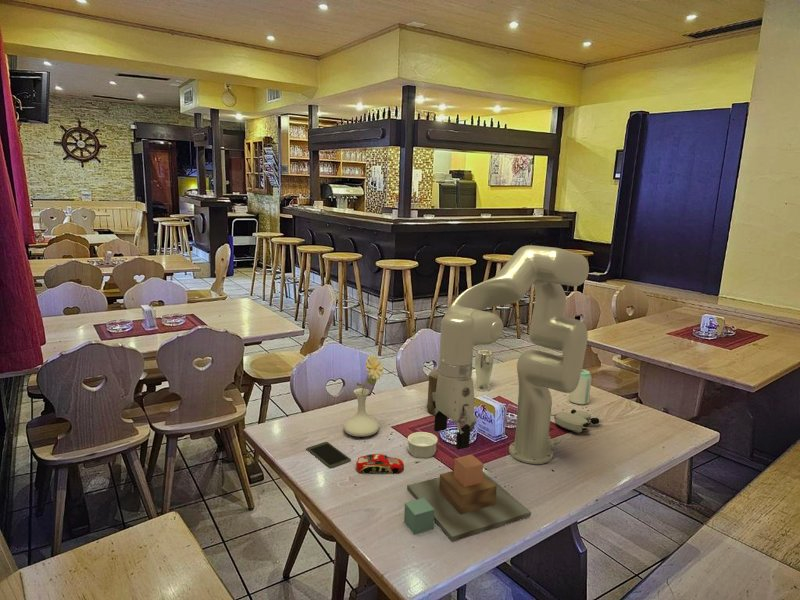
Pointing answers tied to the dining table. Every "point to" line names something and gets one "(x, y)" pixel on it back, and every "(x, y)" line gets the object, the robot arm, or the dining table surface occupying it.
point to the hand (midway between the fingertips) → (451, 438)
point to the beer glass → (483, 369)
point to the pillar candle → (432, 390)
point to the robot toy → (575, 420)
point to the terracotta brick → (468, 470)
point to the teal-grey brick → (419, 516)
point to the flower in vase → (362, 421)
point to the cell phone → (328, 455)
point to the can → (582, 389)
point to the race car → (379, 464)
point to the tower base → (471, 518)
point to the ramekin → (422, 444)
